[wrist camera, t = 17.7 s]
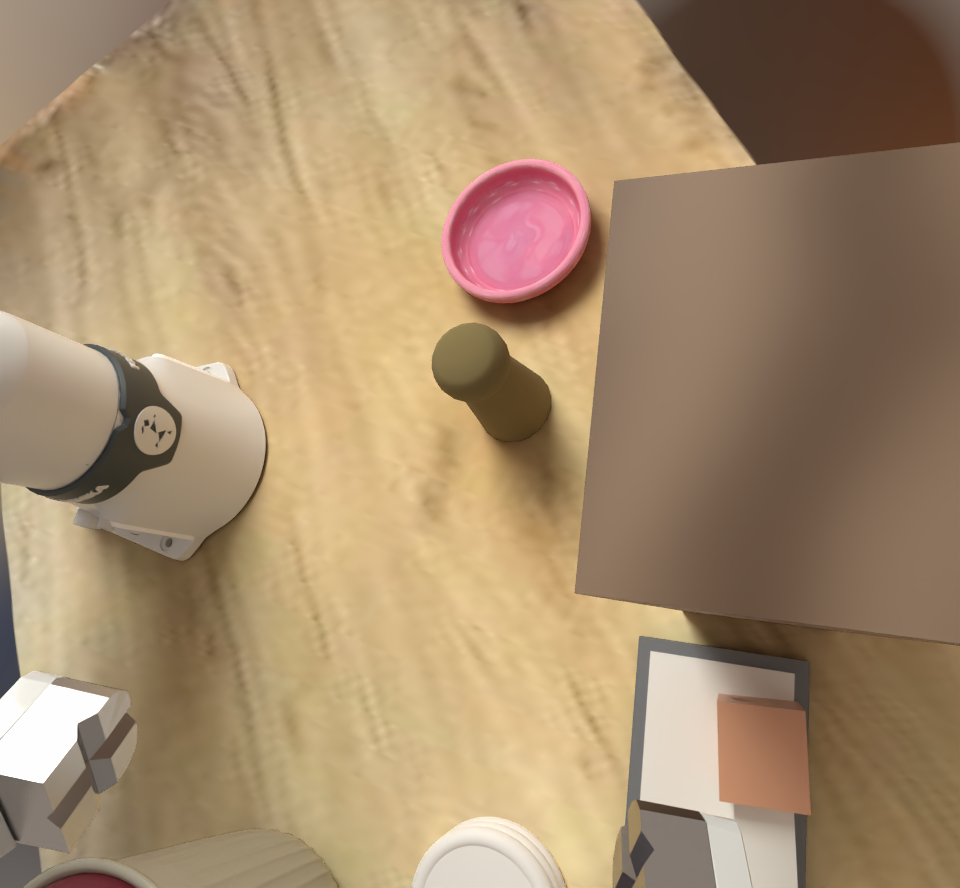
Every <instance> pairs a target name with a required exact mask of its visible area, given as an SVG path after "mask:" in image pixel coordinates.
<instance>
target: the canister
mask: <svg viewBox="0 0 960 888" xmlns="http://www.w3.org/2000/svg"><path fill="white" fill-rule="evenodd" d="M23 888H338V884H337V883H336V882H335V881H334V879H333V877H332V874H331V871H330V870H329V869H328V868H327V867H326V865H325V864H324V861H323V859H322V858H320V857H319V856H318V855H317V854H316V853H315V851H314V849H313V848H310V847H308V846H307V845H306V844H305V843H304V842H303V841H302V840H300V839H296V838H294V837H293V836H292V835H291V834H288V833H282V832H280V831H278V830H266V829H251V830H246V831H237V832H232V833H228V834H223V835H218V836H213V837H209V838H204V839H199V840H195V841H191V842H187V843H183V844H179V845H175V846H171V847H167V848H163V849H159V850H155V851H151V852H147V853H143V854H139V855H135V856H131V857H127V858H123V859H119V860H115V861H114V860H109V859H104V858H80V859H74V860H70V861H67V862H64V863H61V864H59V865H56V866H54V867H52V868H50V869H48V870H46V871H44V872H43V873H41V874H40V875H38V876H37V877H35V878H34V879H33V880H31V881H30V882H29V883H28V884H26V885H25V886H24V887H23Z"/></svg>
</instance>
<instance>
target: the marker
mask: <svg viewBox="0 0 960 888" xmlns="http://www.w3.org/2000/svg"><path fill="white" fill-rule="evenodd" d="M717 727H718V767H719V801H722V802H728V803H734V821H736V822H737V824H738V826H739V828H740V829H741V833H742V837H743V842H744V847H745V852H746V857H747V862H748V867H749V871H750V876H751V881H752V886H753V888H798V882H797V862H796V842H795V822H794V813H797V814H804V815H810V816H811V803H810V785H809V767H808V749H807V731H806V713H805V710H804V709H803V707H802V706H801V705H800V704H799V702H798V701H788V700H778V699H769V698H759V697H749V696H739V695H730V694H720V693H718V698H717Z"/></svg>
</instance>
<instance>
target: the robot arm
mask: <svg viewBox="0 0 960 888" xmlns="http://www.w3.org/2000/svg"><path fill="white" fill-rule="evenodd" d="M265 448H266V439H265V430H264V425H263V422H262V419H261V416H260V414H259V412H258V410H257V408H256V406H255V405H254V404H253V402H252V401H251V400H250V399H249V398H248V397H247V396H246V395H245V394H244V393H243V392H242V391H241V390H240V388H239V386H238V383H237V380H236V377H235V374H234V371H233V369H232V368H231V367H230V366H229V365H227V364H224V363H221V362H216V363H211V364H207V365H203V366H199V367H193V366H191V365H188V364H186V363H183V362H181V361H178V360H175V359H173V358H170V357H168V356H165V355H162V354H154V355H153V356H150V357H143V358H140V359H138V360H133V359H131V358H130V357H128V356H127V355H125V354H122V353H120V352H118V351H115V350H112V349H109V348H107V349H106V348H103V347H101V346H98V345H93V344H83V345H82V344H80V343H78V342H75V341H73V340H71V339H68V338H66V337H64V336H61V335H59V334H56V333H54V332H52V331H49V330H47V329H45V328H42V327H40V326H37V325H35V324H33V323H30V322H28V321H26V320H23V319H21V318H19V317H16V316H14V315H11V314H9V313H7V312H4V311H0V483H6V484H12V485H18V486H24V487H26V488H27V489H29V490H30V491H32V492H34V493H36V494H38V495H42V496H45V497H47V498H49V499H53V500H57V501H62V502H69V503H71V504H73V505H75V506H76V510H77V513H76V516H75V518H74V521H73V522H74V524H75V525H78V526H81V527H85V528H89V529H95V530H100V529H104V530H107V531H109V532H112V533H114V534H116V535H119V536H121V537H123V538H125V539H128V540H130V541H132V542H135V543H137V544H139V545H141V546H144V547H146V548H148V549H151V550H153V551H155V552H158V553H160V554H162V555H164V556H167V557H169V558H171V559H175V560H179V561H185V560H187V559H188V558H190V557H191V556H192V555H193V554H194V552H195V551H196V550H197V549H198V547H199V546H200V545H201V543H202V542H203V541H204V539H205V538H206V537H207V536H209V535H210V534H211V533H213V532H214V531H216V530H218V529H219V528H221V527H222V526H224V525H225V524H227V523H228V522H229V521H230V520H232V519H233V518H234V517H235V516H236V515H237V514H238V513H239V512H240V510H241V509H242V508H243V507H244V505H245V504H246V503H247V501H248V500H249V498H250V497H251V495H252V493H253V491H254V489H255V487H256V485H257V483H258V480H259V478H260V475H261V472H262V468H263V464H264V458H265ZM171 544H172V545H171ZM130 706H131V701H130V697H129V694H128V691H126V690H121V689H117V688H112V687H107V686H103V685H98V684H93V683H89V682H84V681H79V680H75V679H71V678H68V677H64V676H59V675H54V674H49V673H44V672H39V671H34V670H33V671H32V672H30V673H28V674H27V675H25V676H23V677H22V678H20V679H19V680H18V681H17V682H16V683H15V684H14V685H13V687H11V689H10V690H9V691H8V692H7V693H6V694H5V695H4V696H3V697H2V698H1V699H0V858H1V857H2V856H4V855H5V854H6V853H8V852H9V851H11V850H12V849H13V848H15V847H16V843H21V844H26V845H31V846H36V847H41V848H46V849H51V850H56V851H61V852H66V853H71V851H72V850H73V848H74V847H75V845H76V844H77V842H78V841H79V839H80V838H81V836H82V835H83V833H84V832H85V830H86V829H87V827H88V826H89V824H90V823H91V821H92V820H93V819H94V817H95V816H96V814H97V813H98V811H99V794H100V793H101V792H103V791H105V790H106V789H108V788H109V787H111V786H113V785H114V784H116V783H117V782H118V781H119V780H120V778H121V776H122V775H123V773H124V772H125V770H126V769H127V767H128V766H129V764H130V761H131V759H132V756H133V753H134V751H135V748H136V746H137V738H138V729H137V725H136V722H135V721H134V720H133V719H132V718H131V717H130V716H129V715H128V714H127V713H126V711H127V710H128V709H129V707H130ZM15 842H16V843H15ZM613 888H753V886H752V881H751V876H750V871H749V867H748V862H747V857H746V852H745V847H744V842H743V837H742V833H741V829H740V828H739V826H738V824H737V822H736V821H734V820H733V819H730V818H725V817H720V816H715V815H710V814H705V813H700V812H699V811H694V810H689V809H684V808H678V807H673V806H668V805H663V804H658V803H653V802H648V801H642V800H637V799H636V800H634V801H632V803H631V805H630V807H629V809H628V824H627V825H625V826H623V827H621V829H620V831H619V834H618V837H617V840H616V845H615V851H614V857H613Z"/></svg>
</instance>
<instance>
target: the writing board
mask: <svg viewBox="0 0 960 888" xmlns="http://www.w3.org/2000/svg"><path fill="white" fill-rule="evenodd" d="M809 668H810V662H809V661H805V660H798V659H791V658H785V657H778V656H771V655H765V654H758V653H751V652H745V651H738V650H731V649H725V648H718V647H711V646H705V645H698V644H691V643H685V642H678V641H671V640H665V639H658V638H651V637H644V636H639V646H638V659H637V673H636V686H635V700H634V713H633V727H632V740H631V754H630V767H629V781H628V794H627V808H626V821H625V825H627V824H628V809H629V807H630V805H631V803H632V801H634V800H636V799H637V800H642V801H648V802H653V803H658V804H663V805H668V806H673V807H678V808H684V809H689V810H694V811H699V812H700V813H705V814H710V815H715V816H720V817H725V818H730V819H733V820H734V803H728V802H722V801H719V767H718V727H717V698H718V693H720V694H730V695H739V696H749V697H759V698H769V699H778V700H788V701H798V702H799V704H800V705H801V706H802V707H803V709H804V710H805V713H806V731H807V749H808V719H809ZM806 821H807V815H804V814H797V813H794V822H795V842H796V862H797V882H798V888H805V872H806Z"/></svg>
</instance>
